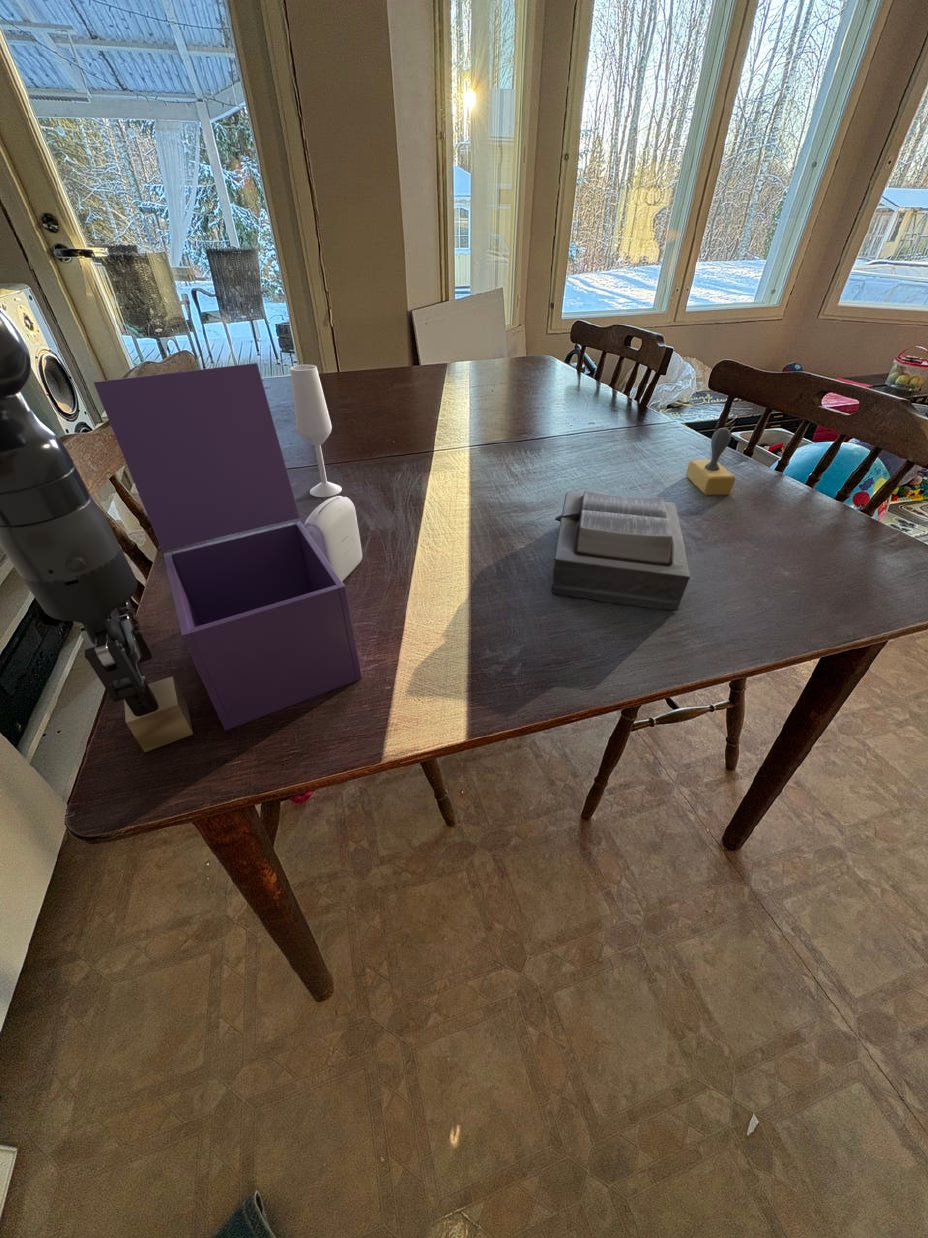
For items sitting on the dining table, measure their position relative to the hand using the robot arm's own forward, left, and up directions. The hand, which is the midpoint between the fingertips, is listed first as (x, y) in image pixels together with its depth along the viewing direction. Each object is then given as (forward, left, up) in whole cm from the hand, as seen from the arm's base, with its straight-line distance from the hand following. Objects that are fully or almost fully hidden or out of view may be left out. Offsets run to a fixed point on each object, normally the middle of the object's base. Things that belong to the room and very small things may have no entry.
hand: (144, 684), depth 54 cm
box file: (+14, +5, -7) cm, 16 cm away
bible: (+69, +1, -7) cm, 69 cm away
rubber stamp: (+108, +14, -7) cm, 109 cm away
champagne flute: (+36, +53, -7) cm, 65 cm away
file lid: (+14, +16, +17) cm, 27 cm away
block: (0, 0, -7) cm, 7 cm away
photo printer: (+28, +21, -7) cm, 36 cm away
